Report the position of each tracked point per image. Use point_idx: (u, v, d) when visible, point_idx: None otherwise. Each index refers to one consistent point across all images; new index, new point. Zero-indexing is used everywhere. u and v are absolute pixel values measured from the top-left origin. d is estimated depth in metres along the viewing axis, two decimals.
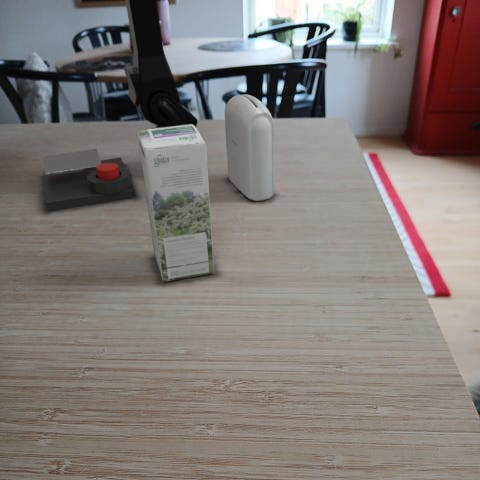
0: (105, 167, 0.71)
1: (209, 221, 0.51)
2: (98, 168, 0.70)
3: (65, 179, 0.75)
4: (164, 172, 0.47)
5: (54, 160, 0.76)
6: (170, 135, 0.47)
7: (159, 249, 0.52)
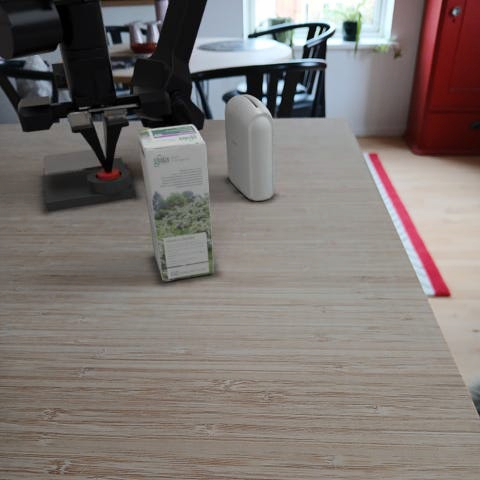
0: (106, 173, 0.71)
1: (209, 221, 0.51)
2: (99, 173, 0.71)
3: (65, 179, 0.75)
4: (163, 172, 0.47)
5: (54, 160, 0.76)
6: (170, 135, 0.47)
7: (159, 249, 0.52)
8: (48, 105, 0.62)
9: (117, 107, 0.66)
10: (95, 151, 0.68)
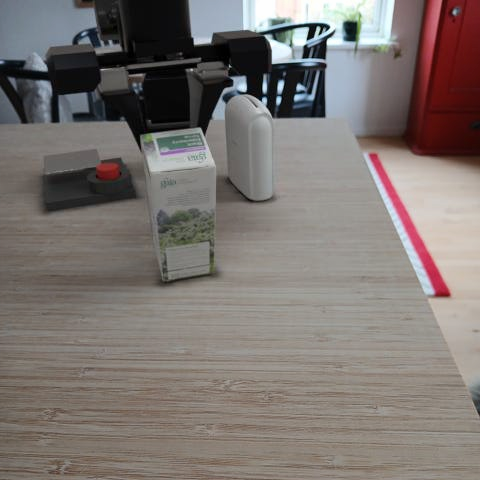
0: (105, 167, 0.71)
1: (213, 232, 0.50)
2: (98, 168, 0.70)
3: (65, 179, 0.75)
4: (170, 193, 0.45)
5: (54, 160, 0.76)
6: (178, 151, 0.44)
7: (161, 256, 0.51)
8: (93, 53, 0.40)
9: (169, 63, 0.43)
10: (134, 131, 0.45)
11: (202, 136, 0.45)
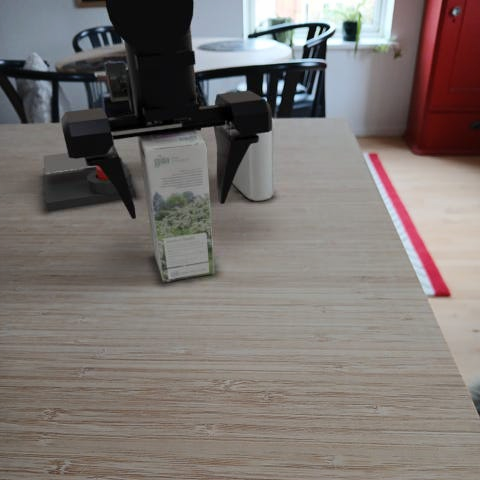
0: None
1: (209, 221, 0.51)
2: (98, 168, 0.70)
3: (65, 179, 0.75)
4: (164, 173, 0.47)
5: (54, 160, 0.76)
6: (170, 136, 0.47)
7: (159, 249, 0.52)
8: (106, 120, 0.44)
9: (151, 129, 0.46)
10: (119, 190, 0.48)
11: None
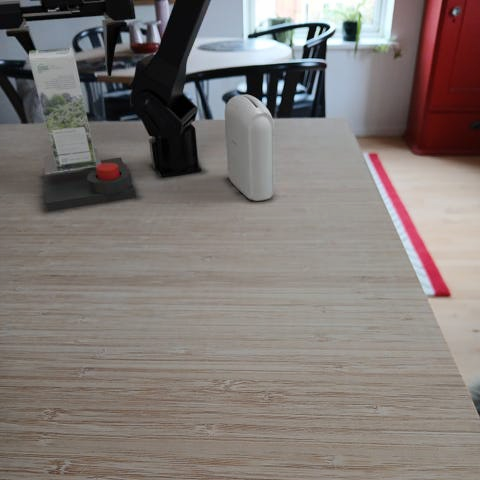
0: (105, 167, 0.71)
1: (85, 118, 0.71)
2: (98, 168, 0.70)
3: (65, 179, 0.75)
4: (45, 77, 0.66)
5: (54, 160, 0.76)
6: (50, 51, 0.67)
7: (50, 139, 0.71)
8: (18, 4, 0.67)
9: (50, 13, 0.69)
10: None
11: (70, 47, 0.69)
